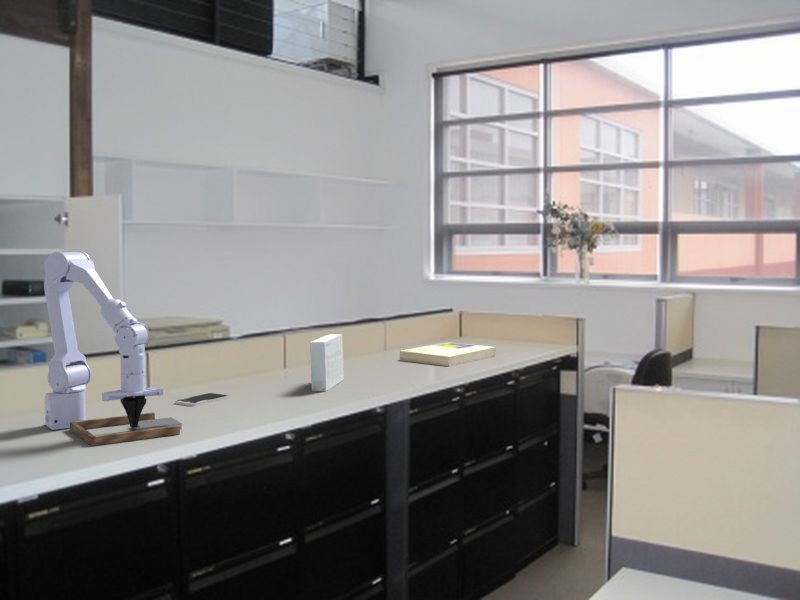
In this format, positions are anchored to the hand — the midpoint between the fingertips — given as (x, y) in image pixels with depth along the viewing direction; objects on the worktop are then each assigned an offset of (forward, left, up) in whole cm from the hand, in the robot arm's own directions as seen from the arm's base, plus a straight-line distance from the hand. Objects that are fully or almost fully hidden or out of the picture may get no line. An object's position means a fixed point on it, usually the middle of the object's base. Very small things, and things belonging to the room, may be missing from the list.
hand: (133, 426), depth 204 cm
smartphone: (+29, +27, -2) cm, 40 cm away
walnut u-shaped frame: (-2, 0, -1) cm, 2 cm away
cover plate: (+6, 0, -2) cm, 6 cm away
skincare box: (+73, +29, -1) cm, 78 cm away
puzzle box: (+146, +56, -2) cm, 156 cm away
